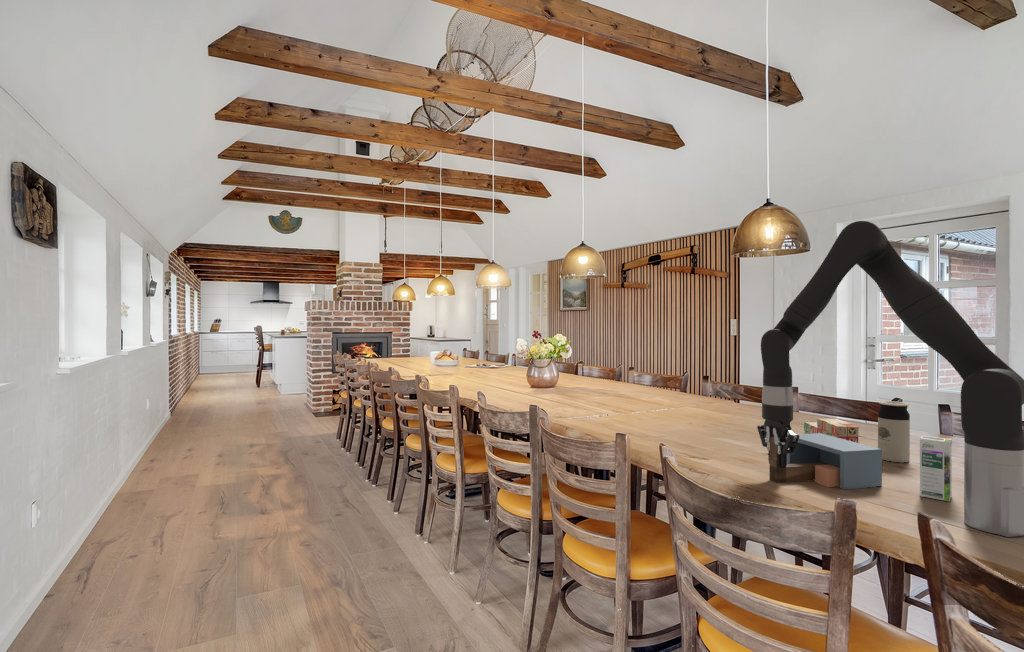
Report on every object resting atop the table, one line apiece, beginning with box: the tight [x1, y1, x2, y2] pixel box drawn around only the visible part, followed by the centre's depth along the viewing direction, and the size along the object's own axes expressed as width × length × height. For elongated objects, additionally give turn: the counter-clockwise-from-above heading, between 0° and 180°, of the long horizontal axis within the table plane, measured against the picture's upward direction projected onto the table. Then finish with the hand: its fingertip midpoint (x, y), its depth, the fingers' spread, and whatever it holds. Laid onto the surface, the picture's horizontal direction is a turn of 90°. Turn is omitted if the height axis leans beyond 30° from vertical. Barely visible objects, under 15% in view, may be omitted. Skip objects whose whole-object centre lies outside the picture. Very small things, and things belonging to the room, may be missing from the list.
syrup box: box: [919, 435, 953, 503], centre depth 124 cm, size 6×6×14 cm
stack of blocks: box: [803, 417, 860, 443], centre depth 162 cm, size 21×6×12 cm, turn 173°
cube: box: [814, 464, 840, 488], centre depth 134 cm, size 4×4×4 cm
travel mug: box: [877, 400, 911, 464], centre depth 158 cm, size 8×8×18 cm
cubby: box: [787, 433, 883, 491], centre depth 140 cm, size 20×12×10 cm, turn 12°
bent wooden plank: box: [769, 436, 828, 484], centre depth 135 cm, size 8×17×12 cm, turn 101°
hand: (777, 465), depth 136 cm, fingers closed on bent wooden plank, 2 cm apart
